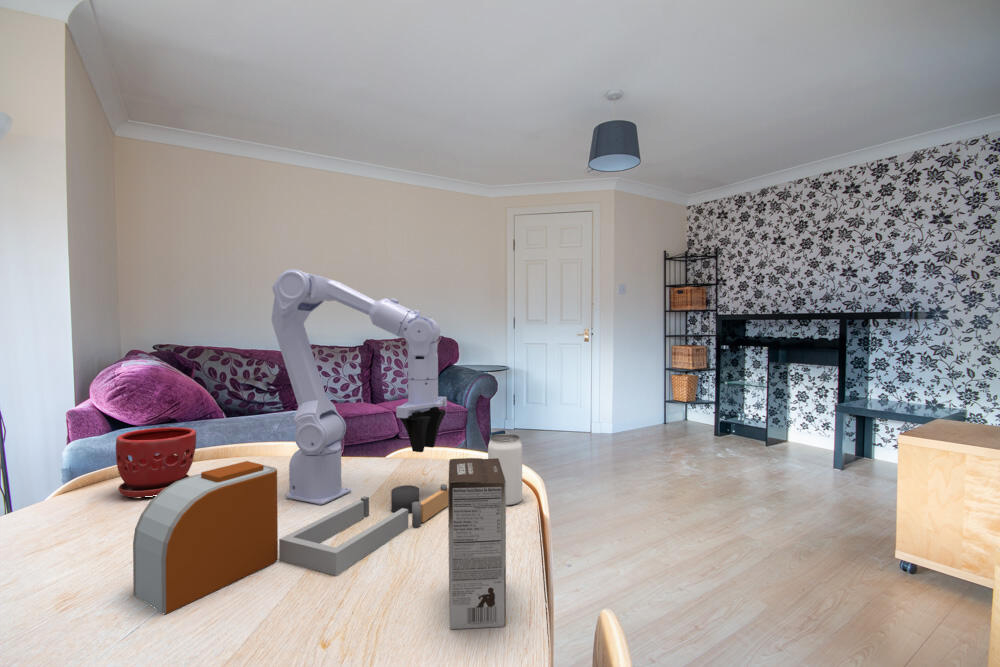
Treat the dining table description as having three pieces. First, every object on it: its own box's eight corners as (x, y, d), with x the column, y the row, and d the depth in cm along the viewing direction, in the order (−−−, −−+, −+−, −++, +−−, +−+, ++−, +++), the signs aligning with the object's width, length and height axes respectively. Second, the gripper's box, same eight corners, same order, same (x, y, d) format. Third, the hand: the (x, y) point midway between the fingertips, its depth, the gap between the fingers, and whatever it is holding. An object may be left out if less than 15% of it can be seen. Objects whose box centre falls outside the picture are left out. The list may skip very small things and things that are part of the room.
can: (519, 507, 84) (519, 441, 84) (484, 505, 85) (484, 440, 85) (524, 495, 90) (524, 434, 90) (492, 493, 91) (492, 432, 91)
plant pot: (115, 508, 84) (114, 443, 84) (117, 489, 94) (116, 431, 94) (200, 492, 92) (199, 433, 92) (193, 476, 103) (192, 423, 103)
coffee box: (449, 584, 58) (449, 457, 58) (500, 582, 59) (499, 456, 59) (447, 631, 49) (446, 481, 49) (507, 627, 50) (506, 479, 50)
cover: (443, 503, 85) (443, 483, 85) (450, 504, 85) (449, 484, 85) (410, 525, 76) (410, 502, 76) (417, 527, 75) (417, 504, 75)
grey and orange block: (249, 545, 69) (248, 455, 69) (284, 559, 65) (283, 463, 65) (131, 594, 57) (130, 484, 57) (165, 615, 52) (164, 496, 52)
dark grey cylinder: (385, 511, 82) (385, 492, 82) (402, 502, 87) (402, 483, 87) (409, 516, 80) (409, 496, 80) (424, 506, 85) (424, 487, 85)
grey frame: (279, 560, 65) (279, 537, 65) (364, 514, 81) (364, 496, 81) (336, 575, 61) (336, 551, 61) (413, 524, 77) (413, 504, 77)
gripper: (419, 383, 81) (419, 461, 81) (459, 376, 94) (459, 442, 94) (386, 382, 83) (387, 456, 83) (430, 374, 97) (430, 439, 97)
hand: (423, 449), depth 89 cm, fingers open, 3 cm apart
